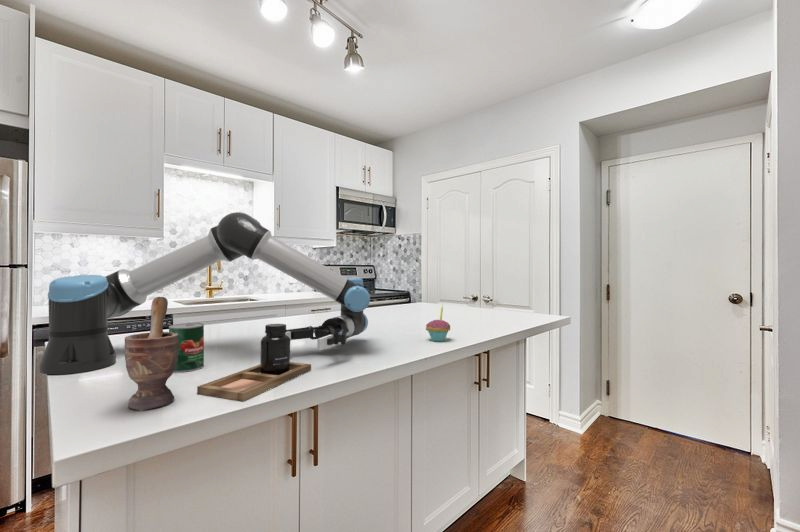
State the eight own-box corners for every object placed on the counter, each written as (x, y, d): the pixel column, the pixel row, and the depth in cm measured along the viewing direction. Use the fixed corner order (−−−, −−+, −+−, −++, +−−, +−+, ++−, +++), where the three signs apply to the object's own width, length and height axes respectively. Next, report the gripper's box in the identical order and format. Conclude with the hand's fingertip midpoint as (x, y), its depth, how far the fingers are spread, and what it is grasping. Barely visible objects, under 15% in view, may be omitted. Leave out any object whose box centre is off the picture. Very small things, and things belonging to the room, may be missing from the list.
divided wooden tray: (197, 393, 79) (197, 386, 79) (272, 365, 100) (272, 359, 100) (243, 401, 74) (243, 393, 74) (311, 370, 96) (311, 364, 96)
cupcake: (438, 336, 139) (438, 304, 139) (455, 340, 133) (455, 306, 132) (420, 339, 134) (420, 305, 134) (438, 344, 127) (438, 307, 127)
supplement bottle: (281, 379, 88) (281, 327, 88) (254, 377, 90) (254, 326, 89) (295, 371, 95) (295, 323, 95) (270, 369, 96) (270, 322, 96)
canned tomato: (194, 372, 94) (193, 327, 94) (161, 372, 94) (161, 327, 94) (209, 363, 102) (209, 322, 102) (180, 363, 102) (180, 322, 102)
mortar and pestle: (121, 398, 76) (120, 297, 76) (171, 388, 82) (170, 295, 82) (127, 415, 67) (127, 302, 67) (182, 404, 73) (182, 299, 73)
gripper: (373, 344, 115) (338, 361, 95) (303, 338, 123) (257, 352, 104) (373, 319, 115) (338, 331, 95) (303, 315, 123) (257, 325, 103)
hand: (295, 342), depth 99 cm, fingers open, 13 cm apart
